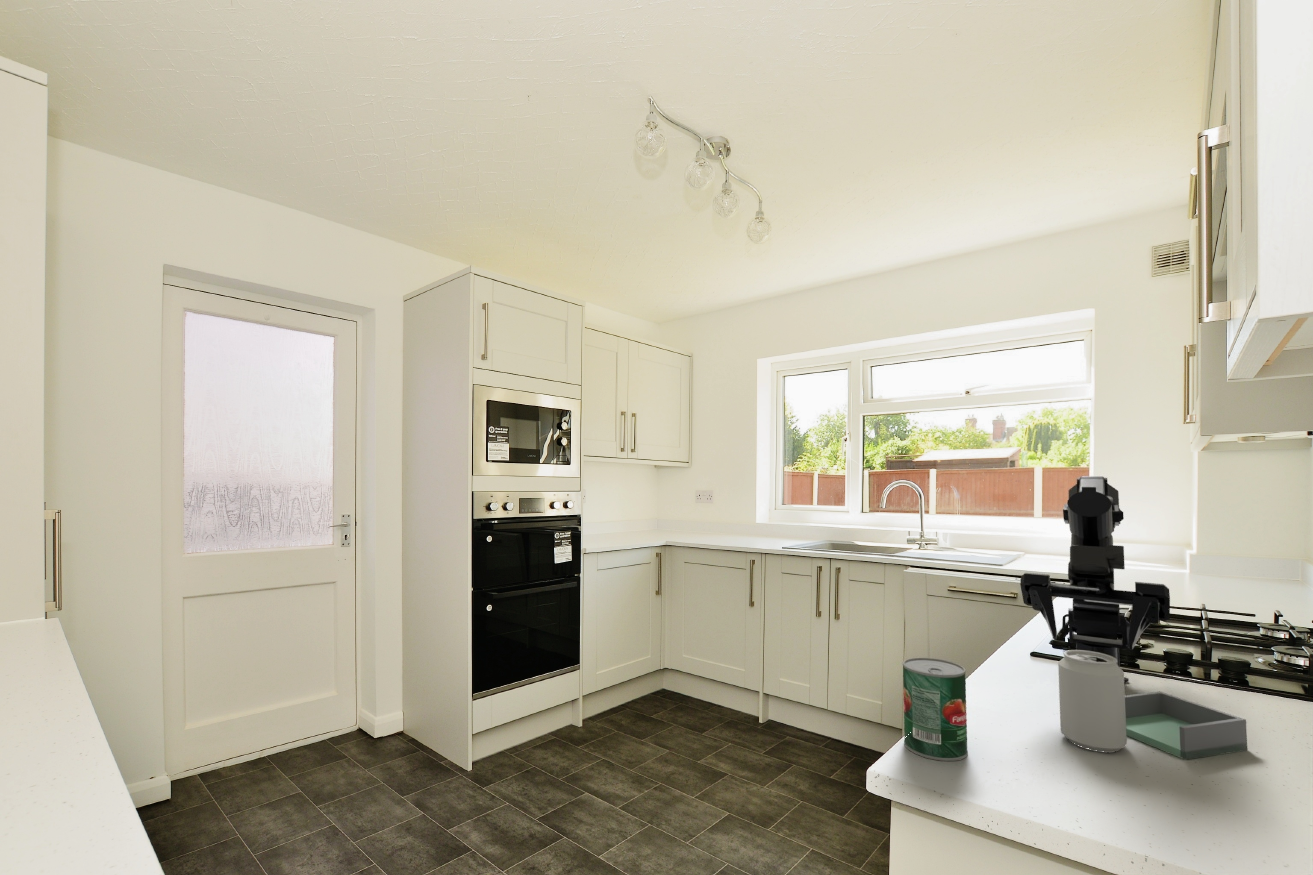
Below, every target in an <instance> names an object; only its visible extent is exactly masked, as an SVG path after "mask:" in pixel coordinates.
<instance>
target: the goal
mask: <svg viewBox="0 0 1313 875" xmlns="http://www.w3.org/2000/svg"><path fill="white" fill-rule="evenodd" d="M1125 713H1126V737H1129V738H1131V739H1135V740H1137V741H1139V742H1142V743H1144V744H1147V745H1149V746H1151V747H1152V748H1153V747H1154V748H1156V749H1158V750H1161V751H1164V752H1165V753H1168V754H1171V755H1173V756H1175V757H1178V758H1180V759H1183V760H1186V761H1188V760H1193V759H1198V758H1199V759H1200V758H1204V757H1205V758H1206V757H1212V756H1213V757H1214V756H1217V755H1224V754H1225V755H1226V754H1231V753H1236V752H1243V751H1248V734H1247V719H1246V718H1242V717H1240V716H1237V715H1234V714H1231V713H1226V712H1224V711H1220V710H1217V709H1216V708H1215V709H1214V708H1212V707H1209V706H1206V705H1202V704H1200V703H1196V702H1193V701H1191V700H1188V699H1184V698H1181V697H1179V696H1175V695H1172V694H1169V693H1166V692H1163V691H1151V692H1143V693H1135V694H1134V693H1133V694H1128V695H1126V694H1125Z"/></svg>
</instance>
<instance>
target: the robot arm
mask: <svg viewBox="0 0 1313 875" xmlns="http://www.w3.org/2000/svg"><path fill="white" fill-rule="evenodd" d="M1119 496H1120V495H1119V490H1118V489H1116V488H1115V487H1113V486H1112V485H1110V483H1108V477H1105V476H1100V475H1099V476H1095V475H1094V476H1093V475H1091V476H1090V475H1089V476H1087V475H1085V476H1083V475H1082V476H1080V477H1076V483H1075V485H1073V486H1072V487H1071V488H1069V489H1068V500H1067V501H1066V502H1067V503H1064V504H1063V509H1062V516H1063V522H1064V524H1065V525H1068V526H1069V531H1070V534H1071V537H1070V538H1071V540H1070V547H1069V562H1068V564H1067V565H1068V566H1067V567H1068V568H1067V577H1068V578H1067V580H1069V584H1067V583H1057V582H1051V577H1050V576H1051V575H1050V574H1049V573H1048V574H1045V573H1036V572H1035V573H1034V572H1024V573H1023V574H1022V575H1021V576H1020V583H1019V585H1020V591H1021V595H1022V601H1023V604H1025V605H1026V606H1028V607H1031V608H1032V609H1033V610H1034V611H1036V612H1037V611H1038V612H1040V614H1041V616H1042V617H1043V619H1044V620H1045V622H1046V624H1047V626H1048V629H1049V632H1050V634H1051V636H1052V639H1054V640H1057V639H1058V638H1057V637H1058V630H1057V629H1058V628H1057V623H1056V622H1057V621H1056V616H1055V609H1054V608H1055V607H1054V604H1053V603H1054V602H1053V601H1054V600H1053V597H1055V598H1062V599H1063V598H1064V599H1072V608H1068V610H1067V611H1068V613H1067V615H1068V616H1067V617H1068V620H1067V622H1068V623H1067V624H1068V634H1069V636H1068V638H1069V643H1071V644H1072V643H1076V647H1075V648H1076V650H1085V651H1093V652H1099V653H1103V654H1107V655H1110V656H1112V657H1114V658H1116V659H1117V661H1118V662H1117V663H1116V664H1117V665H1118V666H1119V667H1120V668H1121V666H1120V665H1121V662H1120V649H1121V650H1125V651H1126V650H1127V649H1129V650H1133V649H1134V648H1135V646H1136V644H1137V642H1138V640H1139V639H1140V637H1141V635H1142V634H1143V632H1144V631H1145V630H1146V629H1147V628H1148V627H1149V626H1150V625H1157V624H1159V622H1160V621H1162V622H1166V621H1169V620H1170V619H1171V616H1170V615H1171V612H1170V610H1171V597H1170V588H1169V587H1168V586H1167V585H1166V584H1164V583H1154V582H1153V583H1152V582H1142V581H1141V582H1140V581H1135V582H1134V585H1135V586H1134V587H1135V590H1134V591H1129V590H1122V589H1121V590H1119V589H1115V572H1114V571H1115V570H1125V547H1124V546H1123V545H1114V538H1113V533H1114V532H1115V528H1116V527H1118V526H1120V525H1121V521H1123V520H1124V517H1125V516H1124V511H1122V510H1121V507H1120V498H1119ZM1120 606H1131V607H1132V608H1131V616H1130V621H1128V620H1127V618H1126V616H1125V615H1126V614H1124V613H1121V612H1120V611H1121V610H1120V609H1121V608H1120ZM1129 680H1130V679H1129V677H1125V676H1124V683H1125V682H1126V683H1127V682H1130V681H1129Z"/></svg>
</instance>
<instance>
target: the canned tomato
mask: <svg viewBox="0 0 1313 875" xmlns="http://www.w3.org/2000/svg"><path fill="white" fill-rule="evenodd" d="M966 672H967V670H966V668H965V667H964V666H962V665H961V664H959V663H956V662H953V661H950V660H947V659H940V658H936V657H935V658H934V657H912V658H911V657H910V658H907V659H904V660H903V661H902V680H903V681H902V683H903V686H902V687H903V724H904V725H903V731H904V732H903V733H904V735H903V736H904V740H903V744H904V746H905V748H906V749H907V750H908V751H910V752H911V753H913V754H914V755H915V754H916V755H917V756H920V757H922V758H926V759H928V760H929V759H930V760H934V761H940V762H941V761H942V762H956V761H961V760H964V759H965V758H966V757H967V756H968V753H969V752H968V729H967V728H968V725H967V724H968V723H967V721H968V719H967V714H968V713H967V688H966V686H967V684H966V683H967V682H966ZM910 732H911V733H910ZM908 734H909V735H908ZM906 736H907V737H906ZM905 737H906V738H905Z"/></svg>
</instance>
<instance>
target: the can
mask: <svg viewBox="0 0 1313 875" xmlns="http://www.w3.org/2000/svg"><path fill="white" fill-rule="evenodd" d="M1062 654H1063V656H1064V657H1063V658H1062V659H1060V660H1059V661H1058V662H1057V665H1058V667H1057V669H1058V690H1059V691H1058V695H1059V698H1058V700H1059V721H1060V722H1059V723H1060V724H1059V725H1060V733H1061V734H1062V735H1063V736H1064V737H1065V738H1066V739H1067V740H1068V739H1069V740H1070V741H1071V742H1073V743H1075V744H1076V745H1079V746H1082V747H1083V748H1082V747H1081V748H1082V749H1084V748H1089V749H1091V750H1090V751H1092V750H1097V751H1104V752H1103V753H1107V752H1109V753H1115V751H1116V752H1119V751H1120V750H1121V749H1123V748H1124V747H1126V745H1127V744H1128V742H1127V738H1128V737H1127V735H1126V713H1125V695H1126V693H1125V689H1126V688H1125V682H1124V677H1125V672H1124V671H1123V669H1122V668H1121V666H1120V667H1119V666H1118V665H1117V664H1116V663H1117V662H1118V661H1117V659H1116V658H1114V657H1112V656H1110V655H1107V654H1103V653H1099V652H1093V651H1085V650H1077V649H1069V650H1065V651H1063V652H1062ZM1069 740H1068V741H1069ZM1070 741H1069V742H1070ZM1071 742H1070V743H1071ZM1073 743H1072V744H1073ZM1075 744H1074V745H1075ZM1076 745H1075V746H1076ZM1079 746H1078V747H1079ZM1097 751H1096V752H1097Z"/></svg>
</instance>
